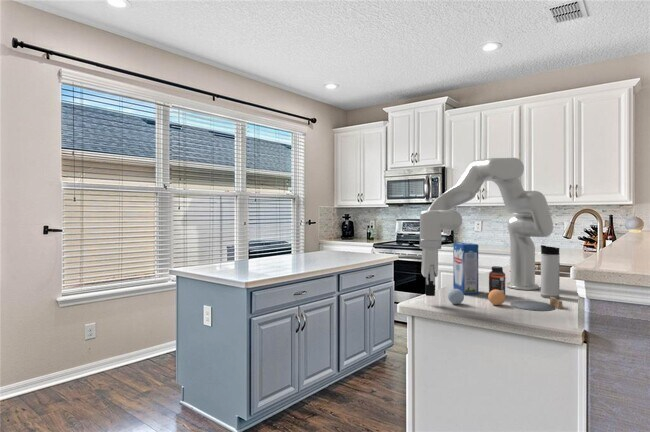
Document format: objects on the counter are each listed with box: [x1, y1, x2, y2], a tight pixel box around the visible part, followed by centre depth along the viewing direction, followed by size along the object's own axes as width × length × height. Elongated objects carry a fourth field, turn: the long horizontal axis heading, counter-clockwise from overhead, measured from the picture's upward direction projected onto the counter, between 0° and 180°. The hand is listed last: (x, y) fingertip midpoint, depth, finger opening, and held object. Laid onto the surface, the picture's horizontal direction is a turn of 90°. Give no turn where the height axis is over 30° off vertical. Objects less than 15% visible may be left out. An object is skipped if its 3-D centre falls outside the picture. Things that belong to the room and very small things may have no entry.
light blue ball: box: [447, 289, 465, 305], centre depth 145 cm, size 6×6×6 cm
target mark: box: [510, 300, 556, 312], centre depth 141 cm, size 14×14×1 cm
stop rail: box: [549, 297, 563, 310], centre depth 140 cm, size 7×1×2 cm, turn 172°
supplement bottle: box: [488, 265, 506, 296], centre depth 158 cm, size 6×6×11 cm
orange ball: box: [488, 290, 506, 306], centre depth 143 cm, size 6×6×6 cm
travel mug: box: [540, 244, 561, 299], centre depth 154 cm, size 6×7×20 cm
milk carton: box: [452, 242, 479, 296], centre depth 165 cm, size 10×6×20 cm, turn 5°
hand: (430, 295), depth 145 cm, fingers closed
